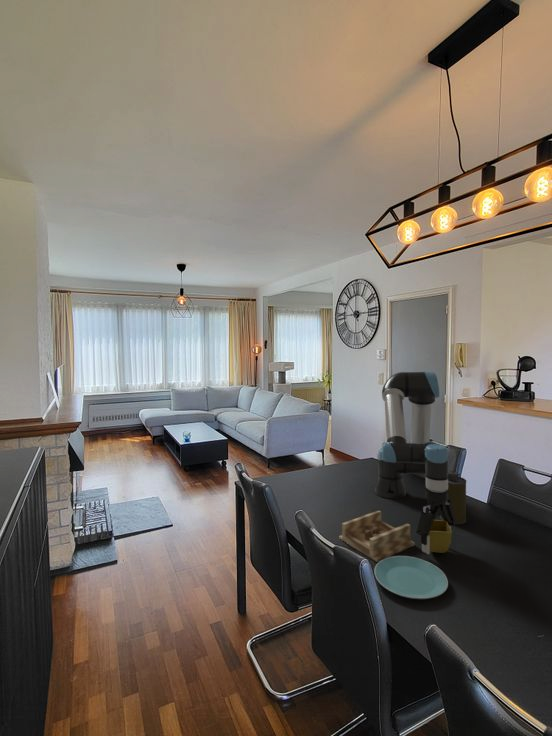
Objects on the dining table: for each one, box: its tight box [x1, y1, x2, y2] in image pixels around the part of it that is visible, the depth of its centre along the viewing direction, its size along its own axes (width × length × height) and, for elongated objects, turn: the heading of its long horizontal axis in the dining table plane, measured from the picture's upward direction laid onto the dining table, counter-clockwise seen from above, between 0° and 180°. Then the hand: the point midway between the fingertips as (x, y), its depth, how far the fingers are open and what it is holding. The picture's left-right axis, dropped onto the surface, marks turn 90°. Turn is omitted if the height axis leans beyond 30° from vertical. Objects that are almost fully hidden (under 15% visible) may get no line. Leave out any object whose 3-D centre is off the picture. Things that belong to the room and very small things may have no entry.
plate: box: [373, 555, 449, 600], centre depth 123 cm, size 22×22×3 cm
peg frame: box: [338, 510, 416, 563], centre depth 149 cm, size 20×20×7 cm
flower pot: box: [425, 519, 453, 554], centre depth 140 cm, size 9×9×9 cm
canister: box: [439, 471, 467, 525], centre depth 166 cm, size 11×10×20 cm
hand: (436, 547), depth 140 cm, fingers closed on flower pot, 12 cm apart
